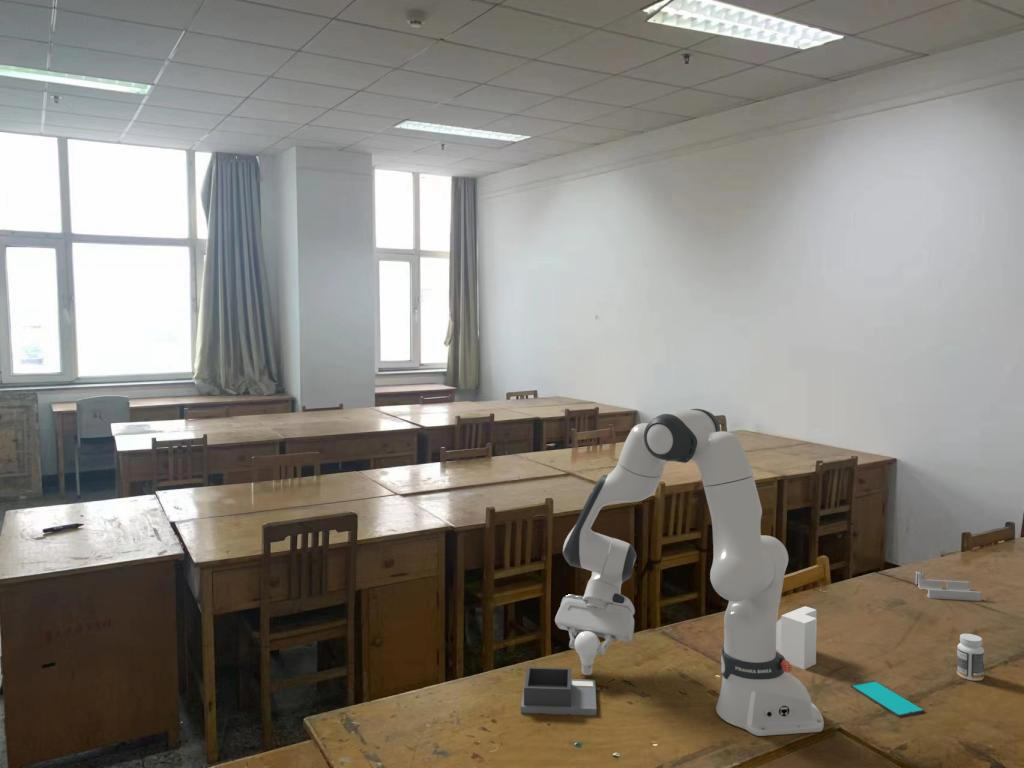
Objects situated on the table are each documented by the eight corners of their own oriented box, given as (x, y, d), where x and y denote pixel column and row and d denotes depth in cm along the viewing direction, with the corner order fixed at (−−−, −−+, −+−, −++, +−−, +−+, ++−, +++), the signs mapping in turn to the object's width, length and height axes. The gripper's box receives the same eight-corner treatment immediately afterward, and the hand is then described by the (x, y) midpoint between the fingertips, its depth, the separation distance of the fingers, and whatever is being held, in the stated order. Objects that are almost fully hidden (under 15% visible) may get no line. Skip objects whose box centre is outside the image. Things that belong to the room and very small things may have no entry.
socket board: (595, 685, 180) (594, 663, 179) (596, 715, 166) (596, 691, 165) (525, 683, 181) (524, 661, 181) (520, 712, 167) (520, 689, 167)
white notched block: (804, 669, 187) (804, 623, 186) (765, 654, 196) (765, 610, 196) (827, 658, 193) (828, 613, 193) (788, 644, 203) (789, 601, 202)
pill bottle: (981, 673, 184) (983, 634, 183) (985, 683, 179) (986, 643, 178) (955, 669, 186) (956, 630, 186) (958, 679, 181) (959, 639, 180)
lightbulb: (598, 682, 181) (599, 638, 180) (572, 679, 182) (573, 635, 182) (600, 670, 187) (601, 628, 186) (575, 667, 189) (576, 625, 188)
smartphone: (874, 680, 180) (925, 710, 166) (874, 683, 180) (925, 713, 166) (849, 685, 178) (898, 715, 164) (849, 688, 178) (898, 719, 164)
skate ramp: (929, 599, 236) (929, 583, 236) (915, 585, 249) (915, 570, 248) (981, 602, 233) (981, 586, 232) (964, 588, 246) (965, 573, 245)
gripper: (560, 587, 195) (544, 637, 187) (634, 599, 185) (621, 653, 177) (568, 598, 199) (552, 648, 191) (641, 611, 189) (627, 663, 181)
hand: (586, 650), depth 184 cm, fingers closed on lightbulb, 6 cm apart
